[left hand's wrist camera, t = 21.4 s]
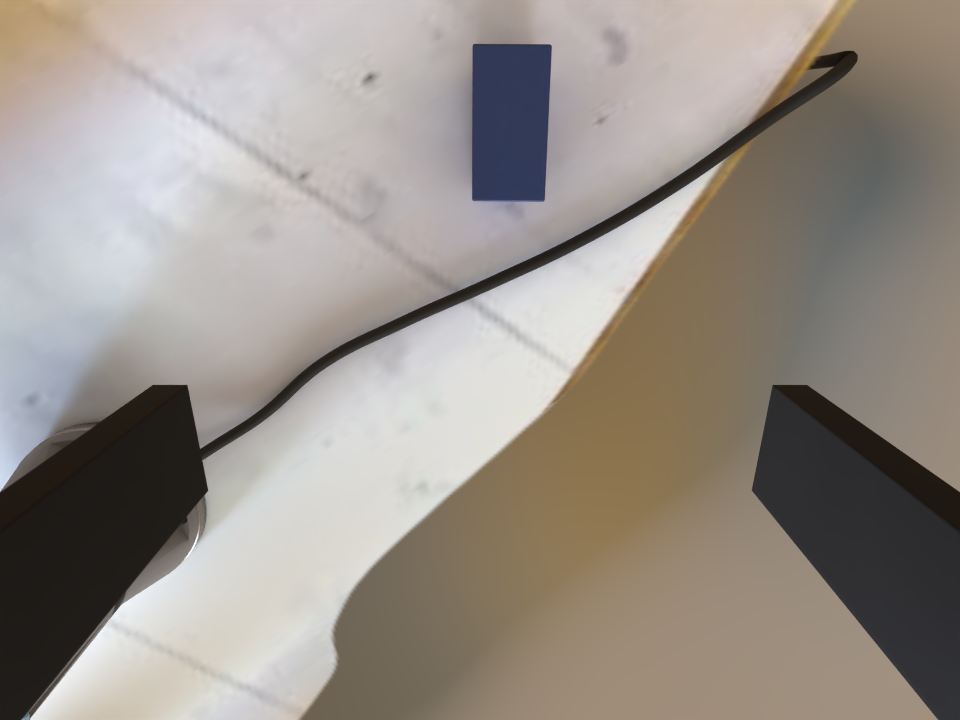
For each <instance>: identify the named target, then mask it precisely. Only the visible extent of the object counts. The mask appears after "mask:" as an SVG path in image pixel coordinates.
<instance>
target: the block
mask: <svg viewBox="0 0 960 720" xmlns="http://www.w3.org/2000/svg"><path fill="white" fill-rule="evenodd" d="M551 50H552V46H551V45H548V44H474V45H473V114H472V200H473V201H533V202H543V201H544V200H545V179H546V158H547V136H548V115H549V93H550V72H551Z"/></svg>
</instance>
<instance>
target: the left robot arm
mask: <svg viewBox="0 0 960 720" xmlns="http://www.w3.org/2000/svg"><path fill="white" fill-rule="evenodd" d="M857 59H858V55H857V54H856V53H855V52H854V51H842V52H838V53H834V54H829V55H823V56H817V57H815V58H814V60H813V62H812V63H811V64H810V65H809V67H808V68H807V70H812V69H820V68H829V67H834V68H832V69H831V70H830V71H828V72H827V73H826V74H824V75H823V76H821V77H820V78H818V79H817V80H815V81H814V82H812V83H811V84H809V85H808V86H806V87H805V88H803V89H802V90H800V91H799V92H797V93H796V94H794V95H792V96H791V97H789V98H788V99H786V100H785V101H783V102H782V103H780V104H779V105H777V106H776V107H774V108H773V109H771V110H770V111H769V112H767V113H766V114H764V115H763V116H762V117H760V118H759V119H757V120H756V121H755V122H753V123H752V124H750V125H749V126H748V127H746V128H745V129H743V130H742V131H741V132H739V133H738V134H737V135H735V136H734V137H733V138H731V139H730V140H728V141H727V142H726V143H724V144H723V145H722V146H720V147H719V148H718V149H716V150H715V151H713V152H712V153H711V154H709V155H708V156H706V157H705V158H704V159H702V160H701V161H699V162H698V163H696V164H695V165H694V166H692V167H691V168H689V169H688V170H686V171H685V172H683V173H682V174H680V175H679V176H677V177H676V178H674V179H673V180H671V181H670V182H668V183H666V184H665V185H663V186H662V187H660V188H659V189H657V190H655V191H654V192H652V193H651V194H649V195H647V196H646V197H644V198H643V199H641V200H639V201H638V202H636V203H634V204H633V205H631V206H629V207H628V208H626V209H624V210H622V211H621V212H619V213H617V214H616V215H614V216H612V217H610V218H608V219H607V220H605V221H603V222H601V223H599V224H598V225H596V226H594V227H592V228H590V229H588V230H586V231H585V232H583V233H581V234H579V235H577V236H575V237H573V238H571V239H569V240H567V241H566V242H564V243H562V244H560V245H558V246H556V247H554V248H552V249H549V250H547V251H545V252H543V253H541V254H539V255H537V256H535V257H533V258H530V259H528V260H526V261H524V262H522V263H520V264H517V265H515V266H513V267H511V268H509V269H506V270H504V271H502V272H500V273H498V274H496V275H493V276H491V277H489V278H487V279H485V280H482V281H480V282H478V283H476V284H474V285H471V286H469V287H467V288H465V289H462V290H460V291H458V292H455V293H453V294H451V295H448V296H446V297H444V298H441V299H439V300H437V301H435V302H432V303H430V304H428V305H426V306H423V307H421V308H419V309H417V310H415V311H412V312H410V313H408V314H406V315H404V316H402V317H400V318H398V319H395V320H393V321H391V322H389V323H387V324H385V325H382V326H380V327H378V328H376V329H374V330H371V331H369V332H367V333H365V334H363V335H361V336H359V337H357V338H355V339H353V340H351V341H349V342H347V343H345V344H343V345H341V346H339V347H338V348H336V349H334V350H333V351H331V352H329V353H328V354H326V355H325V356H323V357H322V358H320V359H319V360H317V361H316V362H314V363H313V364H312V365H310V366H309V367H308V368H307V369H305V370H304V371H303V372H302V373H301V374H300V375H298V376H297V377H296V378H295V379H294V380H293V381H292V382H291V383H290V384H289V385H288V386H287V387H286V388H285V389H284V390H283V391H282V392H281V393H280V394H279V395H277V396H276V397H275V398H274V399H273V400H272V401H271V402H270V403H268V404H267V405H266V406H265V407H264V408H262V409H261V410H260V411H258V412H257V413H256V414H254V415H253V416H252V417H250V418H249V419H247V420H246V421H244V422H243V423H241V424H240V425H238V426H236V427H235V428H233V429H232V430H230V431H228V432H227V433H225V434H223V435H222V436H220V437H218V438H217V439H215V440H214V441H212V442H211V443H209V444H207V445H206V446H204V447H203V448H201V449H200V447H199V442H198V437H197V432H196V427H195V422H194V417H193V412H192V406H191V401H190V396H189V391H188V386H187V385H152V386H151V387H150V388H148V389H147V390H145V391H144V392H142V393H141V394H140V395H138V396H137V397H135V398H134V399H132V400H131V401H130V402H128V403H127V404H125V405H124V406H123V407H121V408H120V409H118V410H117V411H115V412H114V413H113V414H111V415H110V416H108V417H107V418H105V419H104V420H103V421H101V422H100V423H86V424H80V425H75V426H72V427H69V428H66V429H63V430H61V431H59V432H57V433H56V434H54V435H53V436H51V437H50V438H48V439H47V440H45V441H43V442H42V443H40V444H39V445H38V446H37V447H36V448H34V450H32V451H31V452H30V453H29V454H28V455H27V456H26V457H25V458H24V459H23V460H22V462H21V463H20V465H19V466H18V467H17V469H16V470H15V472H14V473H13V475H12V476H11V477H10V479H9V480H8V482H7V483H6V485H5V486H4V487H3V489H2V490H1V492H0V720H30V718H31V717H32V716H33V714H34V713H35V712H36V711H37V709H38V708H39V707H40V706H41V704H42V703H43V702H44V701H45V699H46V698H47V697H48V696H49V694H50V693H51V692H52V691H53V689H54V688H55V687H56V686H57V684H58V683H59V682H60V681H61V679H62V678H63V677H64V676H65V674H66V673H67V672H68V671H69V669H70V668H71V667H72V666H73V664H74V663H75V662H76V661H77V659H78V658H79V657H80V656H81V654H82V653H83V652H84V651H85V649H86V648H87V647H88V646H89V644H90V643H91V642H92V641H93V639H94V638H95V637H96V636H97V634H98V633H99V632H100V631H101V629H102V628H103V627H104V626H105V624H106V623H107V622H108V620H109V619H110V618H111V617H112V615H113V614H114V613H115V612H116V611H117V609H118V608H119V607H120V606H121V605H122V604H123V603H125V602H126V601H128V600H129V599H131V598H132V597H134V596H135V595H137V594H138V593H140V592H141V591H143V590H144V589H146V588H148V587H149V586H151V585H152V584H154V583H155V582H157V581H158V580H160V579H161V578H163V577H164V576H166V575H167V574H169V573H170V572H172V571H173V570H174V569H175V568H176V567H177V566H179V565H180V564H181V563H182V562H183V561H184V560H185V559H186V558H187V556H188V555H189V554H190V553H191V551H192V550H193V549H194V547H195V546H196V544H197V543H198V541H199V540H200V538H201V536H202V533H203V531H204V527H205V523H206V505H205V499H204V495H205V494H206V492H207V491H208V487H207V482H206V477H205V472H204V467H203V462H202V460H204V459H205V458H207V457H208V456H210V455H211V454H213V453H214V452H216V451H218V450H219V449H221V448H222V447H224V446H226V445H227V444H229V443H230V442H232V441H234V440H235V439H237V438H239V437H240V436H242V435H243V434H245V433H247V432H248V431H250V430H251V429H253V428H254V427H256V426H257V425H259V424H260V423H261V422H263V421H264V420H265V419H267V418H268V417H269V416H271V415H272V414H273V413H274V412H275V411H277V410H278V409H279V408H280V407H281V406H282V405H283V404H284V403H286V402H287V401H288V400H289V399H290V398H291V397H292V396H293V395H294V394H295V393H296V392H297V391H298V390H299V389H300V388H301V387H302V386H303V385H305V384H306V383H307V382H308V381H309V380H310V379H312V378H313V377H314V376H315V375H317V374H318V373H319V372H321V371H322V370H324V369H325V368H326V367H328V366H330V365H331V364H333V363H334V362H336V361H338V360H339V359H341V358H343V357H344V356H346V355H348V354H350V353H352V352H354V351H356V350H358V349H360V348H362V347H364V346H366V345H368V344H370V343H372V342H374V341H377V340H379V339H381V338H383V337H385V336H388V335H390V334H392V333H394V332H396V331H399V330H401V329H403V328H405V327H407V326H409V325H411V324H414V323H416V322H418V321H420V320H422V319H424V318H427V317H429V316H431V315H433V314H436V313H438V312H440V311H443V310H445V309H447V308H450V307H452V306H454V305H457V304H459V303H461V302H464V301H466V300H468V299H471V298H473V297H475V296H477V295H480V294H482V293H484V292H486V291H489V290H491V289H493V288H495V287H497V286H500V285H502V284H504V283H506V282H508V281H511V280H513V279H515V278H517V277H519V276H522V275H524V274H526V273H528V272H530V271H533V270H535V269H537V268H539V267H541V266H543V265H546V264H548V263H550V262H552V261H554V260H556V259H558V258H560V257H562V256H564V255H566V254H568V253H570V252H572V251H574V250H576V249H578V248H580V247H582V246H584V245H586V244H588V243H589V242H591V241H593V240H595V239H597V238H599V237H601V236H603V235H604V234H606V233H608V232H610V231H612V230H614V229H615V228H617V227H619V226H621V225H622V224H624V223H626V222H628V221H629V220H631V219H633V218H635V217H636V216H638V215H640V214H641V213H643V212H645V211H646V210H648V209H650V208H651V207H653V206H655V205H656V204H658V203H659V202H661V201H663V200H664V199H666V198H667V197H669V196H671V195H672V194H674V193H675V192H677V191H678V190H680V189H682V188H683V187H685V186H686V185H688V184H689V183H691V182H692V181H694V180H695V179H697V178H698V177H700V176H701V175H703V174H704V173H705V172H707V171H708V170H710V169H711V168H713V167H714V166H715V165H717V164H718V163H720V162H721V161H722V160H724V159H725V158H727V157H728V156H729V155H731V154H732V153H734V152H735V151H736V150H738V149H739V148H740V147H742V146H743V145H745V144H746V143H747V142H749V141H750V140H751V139H753V138H754V137H756V136H757V135H758V134H760V133H761V132H763V131H764V130H765V129H767V128H768V127H770V126H771V125H773V124H774V123H775V122H777V121H778V120H780V119H781V118H783V117H784V116H786V115H787V114H789V113H790V112H792V111H793V110H795V109H796V108H798V107H800V106H801V105H803V104H804V103H806V102H807V101H809V100H810V99H812V98H814V97H815V96H817V95H818V94H820V93H821V92H823V91H824V90H826V89H827V88H829V87H830V86H832V85H833V84H835V83H836V82H837V81H839V80H840V79H841V78H842V77H844V76H845V75H846V74H847V73H848V72H849V71H850V70H851V69H852V68H853V66H854V65H855V64H856V62H857ZM752 491H753V492H754V494H755V495H756V496H757V497H758V499H759V500H760V501H761V502H762V504H763V505H764V506H765V507H766V508H767V510H768V511H769V512H770V513H771V515H772V516H773V517H774V518H775V520H776V521H777V522H778V523H779V524H780V526H781V527H782V528H783V529H784V531H785V532H786V533H787V534H788V535H789V537H790V538H791V539H792V540H793V542H794V543H795V544H796V545H797V547H798V548H799V549H800V550H801V551H802V553H803V554H804V555H805V556H806V558H807V559H808V560H809V561H810V563H811V564H812V565H813V566H814V567H815V569H816V570H817V571H818V572H819V574H820V575H821V576H822V577H823V579H824V580H825V581H826V582H827V583H828V585H829V586H830V587H831V588H832V590H833V591H834V592H835V593H836V595H837V596H838V597H839V598H840V600H841V601H842V602H843V603H844V604H845V606H846V607H847V608H848V609H849V611H850V612H851V613H852V614H853V615H854V617H855V618H856V619H857V620H858V622H859V623H860V624H861V625H862V627H863V628H864V629H865V630H866V631H867V633H868V634H869V635H870V636H871V638H872V639H873V640H874V641H875V643H876V644H877V645H878V646H879V647H880V649H881V650H882V651H883V652H884V654H885V655H886V656H887V657H888V659H889V660H890V661H891V662H892V663H893V665H894V666H895V667H896V668H897V670H898V671H899V672H900V673H901V675H902V676H903V677H904V678H905V679H906V681H907V682H908V683H909V684H910V686H911V687H912V688H913V689H914V691H915V692H916V693H917V694H918V695H919V697H920V698H921V699H922V700H923V702H924V703H925V704H926V705H927V707H928V708H929V709H930V710H931V711H932V713H933V714H934V715H935V716H936V718H937V719H938V720H960V492H959V491H957V490H956V489H954V488H953V487H952V486H950V485H949V484H947V483H946V482H944V481H943V480H942V479H940V478H939V477H937V476H936V475H934V474H933V473H932V472H930V471H929V470H927V469H926V468H925V467H923V466H922V465H920V464H919V463H917V462H916V461H915V460H913V459H912V458H910V457H909V456H907V455H906V454H905V453H903V452H902V451H900V450H899V449H897V448H896V447H895V446H893V445H892V444H890V443H889V442H887V441H886V440H885V439H883V438H882V437H880V436H879V435H877V434H876V433H874V432H873V431H872V430H870V429H869V428H867V427H866V426H865V425H863V424H862V423H860V422H859V421H857V420H856V419H855V418H853V417H852V416H850V415H849V414H847V413H846V412H845V411H843V410H842V409H840V408H839V407H837V406H836V405H835V404H833V403H832V402H830V401H829V400H827V399H826V398H825V397H823V396H822V395H820V394H819V393H818V392H816V391H815V390H813V389H812V388H810V387H809V386H808V385H773V386H772V391H771V396H770V401H769V407H768V412H767V417H766V422H765V427H764V432H763V437H762V442H761V447H760V452H759V457H758V462H757V467H756V472H755V477H754V482H753V487H752Z"/></svg>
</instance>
